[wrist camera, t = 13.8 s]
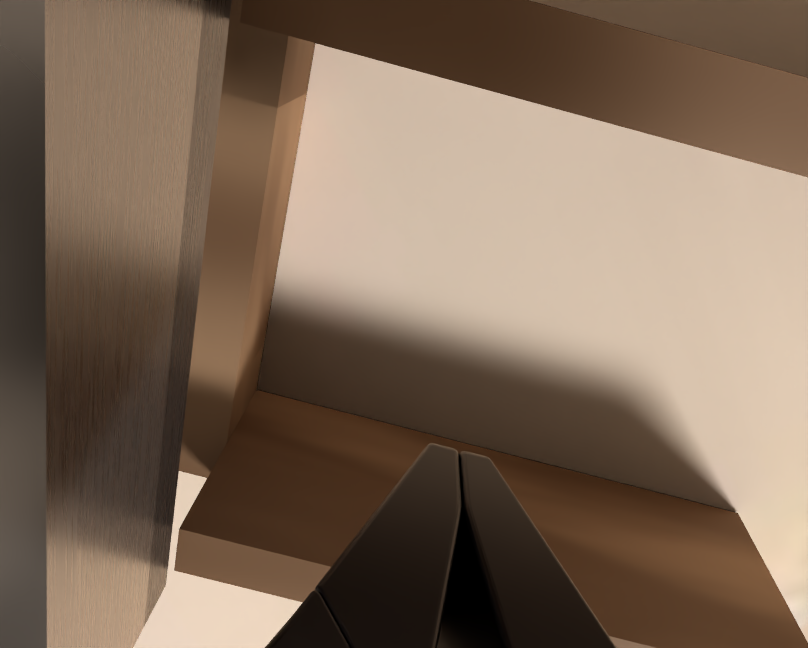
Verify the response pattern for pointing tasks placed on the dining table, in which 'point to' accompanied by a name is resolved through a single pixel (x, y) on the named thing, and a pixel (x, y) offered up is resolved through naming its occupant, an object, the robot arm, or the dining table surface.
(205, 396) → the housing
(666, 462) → the dining table surface
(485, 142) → the dining table surface
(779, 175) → the dining table surface
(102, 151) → the lid
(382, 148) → the dining table surface
